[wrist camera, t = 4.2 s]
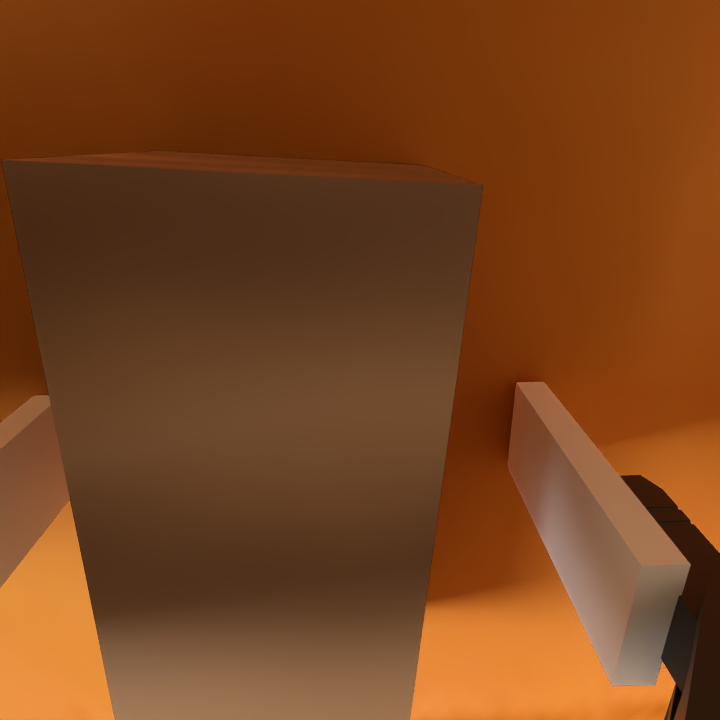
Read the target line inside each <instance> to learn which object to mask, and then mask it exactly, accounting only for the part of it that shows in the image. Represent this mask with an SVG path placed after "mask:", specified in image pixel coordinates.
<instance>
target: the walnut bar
mask: <svg viewBox="0 0 720 720" xmlns="http://www.w3.org/2000/svg"><path fill="white" fill-rule="evenodd" d="M1 163H2V168H3V173H4V178H5V183H6V188H7V193H8V198H9V202H10V207H11V212H12V217H13V222H14V227H15V232H16V237H17V242H18V247H19V251H20V256H21V261H22V266H23V271H24V276H25V281H26V286H27V291H28V296H29V301H30V305H31V310H32V315H33V320H34V325H35V330H36V335H37V340H38V345H39V350H40V355H41V359H42V364H43V369H44V374H45V379H46V384H47V389H48V394H49V399H50V404H51V408H52V413H53V418H54V423H55V428H56V433H57V438H58V443H59V448H60V453H61V458H62V462H63V467H64V472H65V477H66V482H67V487H68V492H69V497H70V502H71V507H72V511H73V516H74V521H75V526H76V531H77V536H78V541H79V546H80V551H81V556H82V561H83V565H84V570H85V575H86V580H87V585H88V590H89V595H90V600H91V605H92V610H93V614H94V619H95V624H96V629H97V634H98V639H99V644H100V649H101V654H102V659H103V664H104V668H105V673H106V678H107V683H108V688H109V693H110V698H111V703H112V708H113V713H114V718H115V720H410V715H411V708H412V700H413V693H414V686H415V678H416V671H417V664H418V657H419V649H420V642H421V635H422V627H423V620H424V613H425V606H426V598H427V591H428V584H429V576H430V569H431V562H432V555H433V547H434V540H435V533H436V525H437V518H438V511H439V504H440V496H441V489H442V482H443V475H444V467H445V460H446V453H447V445H448V438H449V431H450V424H451V416H452V409H453V402H454V394H455V387H456V380H457V373H458V365H459V358H460V351H461V343H462V336H463V329H464V322H465V314H466V307H467V300H468V292H469V285H470V278H471V271H472V263H473V256H474V249H475V242H476V234H477V227H478V220H479V212H480V205H481V198H482V191H483V185H480V184H477V183H474V182H471V181H469V180H466V179H463V178H460V177H457V176H454V175H451V174H448V173H445V172H443V171H440V170H437V169H434V168H431V167H428V166H425V165H414V164H396V163H378V162H360V161H341V160H323V159H305V158H287V157H268V156H250V155H232V154H213V153H195V152H177V151H143V152H126V153H109V154H92V155H74V156H57V157H40V158H22V159H5V160H1Z"/></svg>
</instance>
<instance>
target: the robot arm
mask: <svg viewBox="0 0 720 720" xmlns="http://www.w3.org/2000/svg"><path fill="white" fill-rule="evenodd" d="M507 468H508V470H509V472H510V474H511V476H512V478H513V480H514V482H515V485H516V487H517V489H518V491H519V493H520V495H521V497H522V499H523V501H524V503H525V505H526V508H527V510H528V512H529V514H530V516H531V518H532V520H533V522H534V524H535V526H536V528H537V531H538V533H539V535H540V537H541V539H542V541H543V543H544V545H545V547H546V549H547V551H548V554H549V556H550V558H551V560H552V562H553V564H554V566H555V568H556V570H557V572H558V574H559V577H560V579H561V581H562V583H563V585H564V587H565V589H566V591H567V593H568V595H569V598H570V600H571V602H572V604H573V606H574V608H575V610H576V612H577V614H578V616H579V618H580V621H581V623H582V625H583V627H584V629H585V631H586V633H587V635H588V637H589V639H590V641H591V644H592V646H593V648H594V650H595V652H596V654H597V656H598V658H599V660H600V662H601V664H602V667H603V669H604V671H605V673H606V675H607V677H608V679H609V681H610V683H611V685H612V686H635V685H655V684H656V681H657V678H658V674H659V671H660V667H661V664H662V661H663V662H664V664H665V666H666V667H667V669H668V671H669V672H670V674H671V676H672V677H673V679H674V681H675V682H676V684H675V687H674V691H673V694H672V697H671V700H670V703H669V706H668V710H667V713H666V716H665V719H664V720H720V553H719V552H718V551H717V550H716V549H715V548H714V547H713V545H712V544H711V543H710V542H709V541H708V540H707V539H706V538H705V536H704V535H703V534H702V533H701V532H700V531H699V530H698V529H697V527H696V526H695V525H694V524H691V523H690V520H689V519H688V517H687V516H686V515H685V514H684V513H683V512H682V511H681V510H678V506H677V505H676V504H675V503H674V502H673V501H672V499H671V498H670V497H669V496H668V495H667V494H666V493H665V492H664V491H663V489H661V488H659V487H658V486H656V485H655V484H653V483H652V482H650V481H648V480H647V479H645V478H644V477H642V476H641V475H629V476H619V474H618V473H617V472H616V471H615V469H614V468H613V467H612V466H611V464H610V463H609V462H608V461H607V459H606V458H605V457H604V456H603V454H602V453H601V452H600V451H599V449H598V448H597V447H596V446H595V444H594V443H593V442H592V441H591V439H590V438H589V437H588V436H587V434H586V433H585V432H584V431H583V429H582V428H581V427H580V426H579V424H578V423H577V422H576V421H575V419H574V418H573V417H572V416H571V414H570V413H569V412H568V411H567V409H566V408H565V407H564V406H563V405H562V403H561V402H560V401H559V400H558V398H557V397H556V396H555V395H554V393H553V392H552V391H551V390H550V388H549V387H548V386H547V385H546V383H545V382H516V389H515V398H514V408H513V417H512V427H511V436H510V446H509V456H508V465H507ZM69 500H70V497H69V492H68V487H67V482H66V477H65V472H64V467H63V462H62V458H61V453H60V448H59V443H58V438H57V433H56V428H55V423H54V418H53V413H52V408H51V404H50V399H49V395H39V396H33V397H31V398H30V399H29V400H28V401H26V402H25V403H24V404H23V405H22V406H20V407H19V408H18V409H17V410H15V411H14V412H13V413H12V414H10V415H9V416H8V417H7V418H5V419H4V420H3V421H2V422H0V588H1V586H2V585H3V584H4V582H5V581H6V580H7V579H8V577H9V576H10V575H11V574H12V572H13V571H14V570H15V568H16V567H17V566H18V565H19V563H20V562H21V561H22V560H23V558H24V557H25V556H26V554H27V553H28V552H29V551H30V549H31V548H32V547H33V545H34V544H35V543H36V542H37V540H38V539H39V538H40V537H41V535H42V534H43V533H44V531H45V530H46V529H47V528H48V526H49V525H50V524H51V522H52V521H53V520H54V519H55V517H56V516H57V515H58V514H59V512H60V511H61V510H62V508H63V507H64V506H65V505H66V503H67V502H68V501H69Z"/></svg>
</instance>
